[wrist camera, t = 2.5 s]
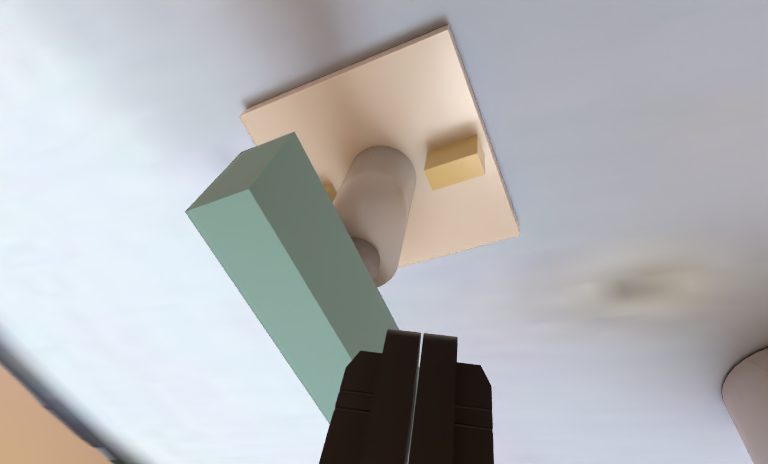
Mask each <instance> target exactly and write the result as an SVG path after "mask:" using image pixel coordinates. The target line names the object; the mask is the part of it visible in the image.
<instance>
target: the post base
mask: <svg viewBox="0 0 768 464" xmlns="http://www.w3.org/2000/svg"><path fill="white" fill-rule="evenodd" d="M239 117H240V119H241V121H242V123H243V124H244V126H245V128H246V130H247V131H248V133H249V135H250V137H251V138H252V140H253V142H254V144H255V145H256V146H258V145H261V144H264V143H266V142H269V141H271V140H274V139H276V138H279V137H282V136H284V135H287V134H289V133H292V132H295V133H296V135H297V137H298V139H299V141H300V143H301V145H302V147H303V148H304V150H305V152H306V154H307V156H308V158H309V160H310V162H311V164H312V166H313V167H314V169H315V171H316V173H317V175H318V177H319V179H320V181H321V183H322V184H323V186H324V188H325V190H326V192H327V194H328V196H329V198H330V200H331V202H332V203H333V205H334V207H335V209H336V211H337V213H338V215H339V217H340V219H341V220H342V222H343V224H344V226H345V228H346V230H347V232H348V234H349V236H350V237H357V238H361V239H364V240H366V241H368V242H369V243H370V244H372V245H373V246H374V247H375V248H376V250H377V251H378V253H379V256H380V266H379V270H378V274H377V277H376V281H375V285H376V287H379V286H381V285H383V284H385V283H386V282H388V281H389V280H390V279H391V278H392V277H393V275H394V274H395V272H396V270H397V268H400V267H404V266H408V265H411V264H415V263H419V262H423V261H426V260H430V259H434V258H438V257H442V256H445V255H449V254H453V253H457V252H460V251H464V250H468V249H472V248H475V247H479V246H483V245H487V244H490V243H494V242H498V241H502V240H505V239H509V238H513V237H517V236H520V231H519V224H518V221H517V218H516V215H515V212H514V209H513V206H512V204H511V201H510V198H509V195H508V192H507V189H506V186H505V183H504V181H503V178H502V175H501V172H500V169H499V166H498V163H497V161H496V158H495V155H494V152H493V149H492V146H491V143H490V140H489V138H488V135H487V132H486V129H485V126H484V123H483V120H482V117H481V115H480V112H479V109H478V106H477V103H476V100H475V97H474V95H473V92H472V89H471V86H470V83H469V80H468V77H467V74H466V72H465V69H464V66H463V63H462V60H461V57H460V54H459V52H458V49H457V46H456V43H455V40H454V37H453V34H452V31H451V29H450V26H449V24H448V25H446V26H443V27H441V28H439V29H436V30H434V31H432V32H429V33H427V34H424V35H422V36H420V37H417V38H415V39H412V40H410V41H408V42H405V43H403V44H400V45H398V46H396V47H393V48H391V49H388V50H386V51H384V52H381V53H379V54H377V55H374V56H372V57H369V58H367V59H365V60H362V61H360V62H357V63H355V64H353V65H350V66H348V67H345V68H343V69H341V70H338V71H336V72H334V73H331V74H329V75H326V76H324V77H322V78H319V79H317V80H314V81H312V82H310V83H307V84H305V85H302V86H300V87H298V88H295V89H293V90H290V91H288V92H286V93H283V94H281V95H279V96H276V97H274V98H271V99H269V100H267V101H264V102H262V103H259V104H257V105H255V106H252V107H250V108H248V109H246V110H245V111H244V112H243V113H242V114H241V115H240V116H239Z"/></svg>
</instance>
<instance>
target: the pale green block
mask: <svg viewBox="0 0 768 464" xmlns="http://www.w3.org/2000/svg"><path fill="white" fill-rule="evenodd" d="M185 212H186V214H187V215H188V217H189V218H190V220H191V221H192V223H193V224H194V226H195V227H196V229H197V230H198V231H199V233H200V234H201V236H202V237H203V239H204V240H205V242H206V243H207V245H208V246H209V248H210V249H211V251H212V252H213V254H214V255H215V256H216V258H217V259H218V261H219V262H220V264H221V265H222V267H223V268H224V270H225V271H226V273H227V274H228V276H229V277H230V278H231V280H232V281H233V283H234V284H235V286H236V287H237V289H238V290H239V292H240V293H241V295H242V296H243V298H244V299H245V300H246V302H247V303H248V305H249V306H250V308H251V309H252V311H253V312H254V314H255V315H256V317H257V318H258V320H259V321H260V323H261V324H262V325H263V327H264V328H265V330H266V331H267V333H268V334H269V336H270V337H271V339H272V340H273V342H274V343H275V345H276V346H277V347H278V349H279V350H280V352H281V353H282V355H283V356H284V358H285V359H286V361H287V362H288V364H289V365H290V367H291V368H292V369H293V371H294V372H295V374H296V375H297V377H298V378H299V380H300V381H301V383H302V384H303V386H304V387H305V389H306V390H307V392H308V393H309V394H310V396H311V397H312V399H313V400H314V402H315V403H316V405H317V406H318V408H319V409H320V411H321V412H322V414H323V415H324V416H325V418H326V419H327V421H328V422H329V424H330V422H331V419H332V415H333V411H334V410H335V404H336V401H337V397H338V393H339V392H340V386H341V383H342V379H343V375H344V372H345V368H346V367H347V365H348V364H349V363H350V362H351V361H352V360H353V358H354V357H355V356H356V355H357V354H358V353H359V352H360V350H361V351H369V352H377V353H382V352H383V347H384V343H385V338H386V333H387V330H388V329H393V330H399V328H398V327H397V325H396V323H395V321H394V319H393V317H392V315H391V313H390V311H389V310H388V308H387V306H386V304H385V302H384V300H383V298H382V296H381V294H380V292H379V291H378V289H377V287H376V285H375V281H376V277H377V274H378V270H379V266H380V256H379V253H378V251H377V250H376V248H375V247H374V246H373V245H372V244H370V243H369V242H368V241H366V240H364V239H361V238H357V237H350V236H349V234H348V232H347V230H346V228H345V226H344V224H343V222H342V220H341V219H340V217H339V215H338V213H337V211H336V209H335V207H334V205H333V203H332V202H331V200H330V198H329V196H328V194H327V192H326V190H325V188H324V186H323V184H322V183H321V181H320V179H319V177H318V175H317V173H316V171H315V169H314V167H313V166H312V164H311V162H310V160H309V158H308V156H307V154H306V152H305V150H304V148H303V147H302V145H301V143H300V141H299V139H298V137H297V135H296V133H295V132H292V133H289V134H287V135H284V136H282V137H279V138H276V139H274V140H271V141H269V142H266V143H264V144H261V145H258V146H256V147H253V148H251V149H248V150H245V151H243V152H241V153H240V154H239V155H238V156H237V157H236V158H235V159H234V160H233V161H232V162H231V164H230V165H229V166H228V167H227V168H226V169H225V170H224V171H223V172H222V173H221V174H220V175H219V176H218V177H217V178H216V179H215V181H214V182H213V183H212V184H211V185H210V186H209V187H208V188H207V189H206V190H205V191H204V192H203V193H202V194H201V195H200V196H199V198H198V199H197V200H196V201H195V202H194V203H193V204H192V205H191V206H190V207H189V208H188V209H187V210H186V211H185ZM419 369H420V368H419V366H418V376H417V386H418V377H419ZM416 394H417V387H416ZM415 402H416V397H415ZM414 411H415V407H414ZM413 419H414V415H413ZM412 427H413V423H412ZM411 436H412V431H411ZM410 444H411V440H410ZM409 452H410V448H409ZM408 461H409V456H408Z"/></svg>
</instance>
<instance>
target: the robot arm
mask: <svg viewBox="0 0 768 464" xmlns="http://www.w3.org/2000/svg"><path fill="white" fill-rule="evenodd" d="M420 340H421V333H418V332H410V331H401V330H393V329H388V330H387V333H386V338H385V343H384V347H383V352H382V353H377V352H369V351H361V350H360V352H359V353H358V354H357V355H356V356H355V357H354V358H353V360H352V361H351V362H350V363H349V364H348V365H347V367H346V368H345V372H344V375H343V379H342V383H341V386H340V392H339V393H338V397H337V401H336V404H335V410H334V411H333V415H332V419H331V422H330V426H329V429H328V433H327V437H326V440H325V444H324V447H323V451H322V455H321V458H320V462H319V464H494V454H493V432H492V429H493V423H492V391H491V385H490V383H489V381H488V379H487V377H486V375H485V373H484V371H483V369H482V367H481V365H474V364H466V363H458V362H457V337H453V336H444V335H436V334H428V333H424V336H423V344H422V352H421V361H420V369H419V377H418V386H417V376H418V364H419V352H420ZM416 387H417V394H416ZM722 396H723V401H724V403H725V405H726V407H727V409H728V411H729V414H730V416H731V418H732V420H733V422H734V424H735V426H736V428H737V430H738V432H739V434H740V436H741V438H742V440H743V442H744V444H745V447H746V449H747V451H748V453H749V455H750V457H751V459H752V461H753V463H754V464H768V348H767V349H764V350H762V351H759V352H757V353H755V354H753V355H751V356H749V357H748V358H746V359H744V360H743V361H742V362H740V363H739V364H738V365H737V366H735V367H734V369H733V370H732V371H731V372H730V373H729V374H728V376H727V378H726V380H725V382H724V384H723V389H722ZM415 397H416V402H415ZM414 407H415V411H414ZM413 415H414V419H413ZM412 423H413V427H412ZM411 431H412V436H411ZM410 440H411V444H410ZM409 448H410V452H409ZM408 456H409V461H408Z"/></svg>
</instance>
